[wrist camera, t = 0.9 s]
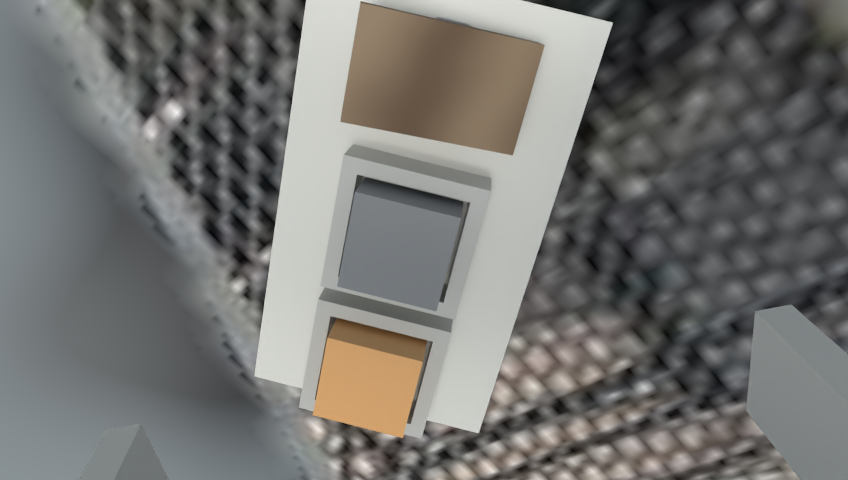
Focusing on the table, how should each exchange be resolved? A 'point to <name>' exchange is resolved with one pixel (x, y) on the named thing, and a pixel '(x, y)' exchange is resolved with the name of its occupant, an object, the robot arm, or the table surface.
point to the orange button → (369, 377)
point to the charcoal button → (399, 243)
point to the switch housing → (429, 172)
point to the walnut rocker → (439, 79)
